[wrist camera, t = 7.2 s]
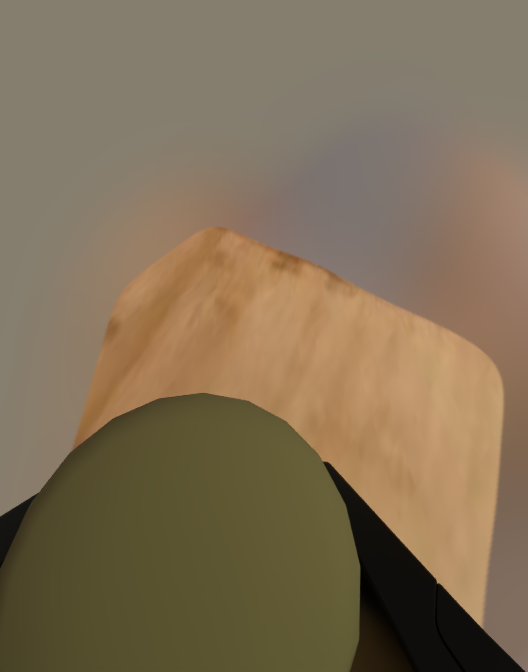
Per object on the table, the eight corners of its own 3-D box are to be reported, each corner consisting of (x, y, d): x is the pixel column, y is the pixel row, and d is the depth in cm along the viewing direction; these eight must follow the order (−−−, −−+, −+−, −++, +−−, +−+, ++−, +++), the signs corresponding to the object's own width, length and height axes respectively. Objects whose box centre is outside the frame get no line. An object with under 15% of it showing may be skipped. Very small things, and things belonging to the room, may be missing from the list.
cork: (127, 527, 13) (-293, 679, 3) (219, 413, 15) (168, 278, 5) (238, 638, 11) (177, 1733, 1) (320, 493, 14) (515, 520, 4)
